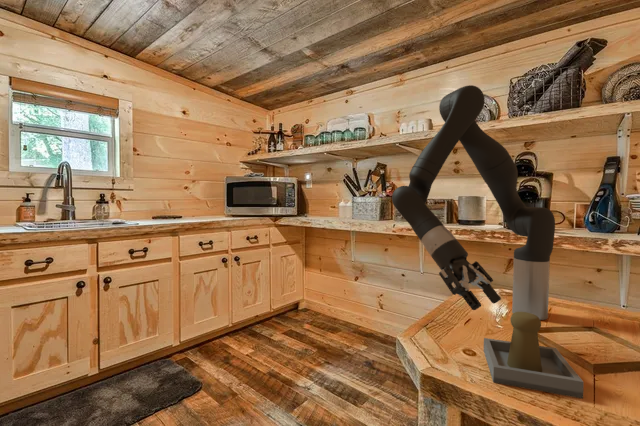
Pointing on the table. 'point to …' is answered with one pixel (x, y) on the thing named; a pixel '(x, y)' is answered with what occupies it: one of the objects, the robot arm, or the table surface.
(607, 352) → the table surface
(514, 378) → the tray
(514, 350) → the cork
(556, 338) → the table surface
